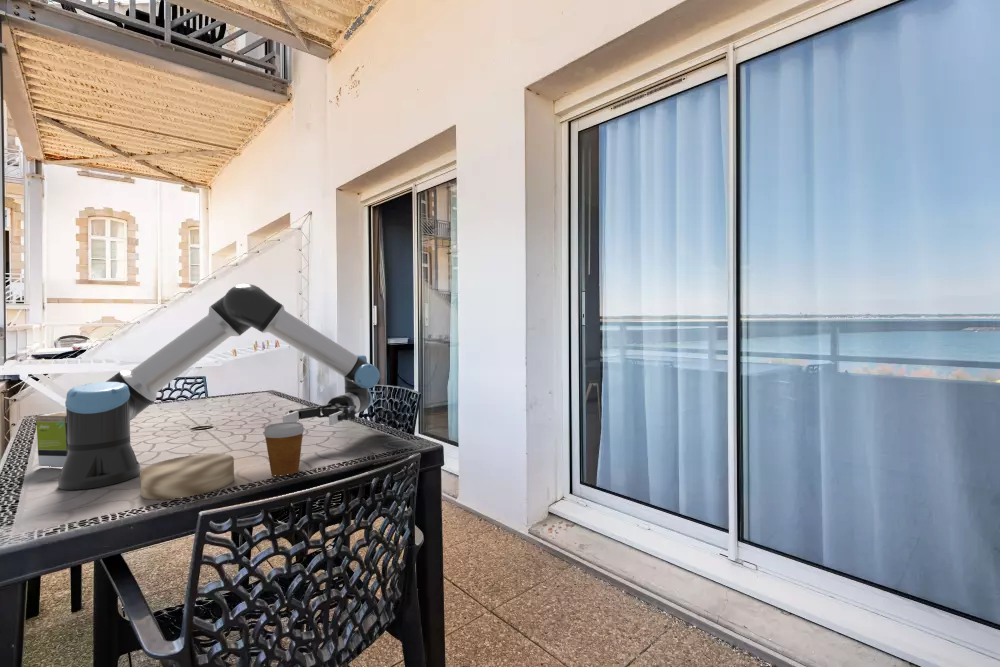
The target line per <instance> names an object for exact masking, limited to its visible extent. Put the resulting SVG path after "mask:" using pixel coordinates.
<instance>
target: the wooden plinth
mask: <svg viewBox="0 0 1000 667" xmlns="http://www.w3.org/2000/svg"><path fill="white" fill-rule="evenodd" d="M234 463H235V458H234V456H233V455H231V454H225V453H204V454H202V453H201V454H193V455H186V456H180V457H175V458H170V459H166V460H162V461H158V462H156V463H153V464H150V465H148V466H145V467H144V468H142V469H140V474H139V475H140V495H141V497H142V498H143V497H144V498H143V499H146V500H150V499H151V500H152V501H158V500H157V499H171V500H176V499H175V498H180V499H182V498H181V497H187V498H191V497H190V496H192V497H195V496H194V495H197V496H200V495H199V494H201V495H204V493H205V494H209V493H212V492H215V491H218V490H220V488H221V489H223V488H225V487H227V486H229V485H230V484H232V483H233V482H234V481H235V464H234ZM222 487H223V488H222ZM217 489H218V490H217ZM214 490H215V491H214ZM211 491H212V492H211ZM208 492H209V493H208Z"/></svg>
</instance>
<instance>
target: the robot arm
mask: <svg viewBox="0 0 1000 667" xmlns="http://www.w3.org/2000/svg"><path fill="white" fill-rule="evenodd" d="M251 328H253V329H255V330H257V331H259V332H261V333H262V334H265V333H270V334H271V335H273V336H274V337H276V338H278V339H280V341H283V342H285V343H286V344H288V345H290V346H291V347H293V348H295V349H296V350H298V351H300V352H301V353H303V354H305V355H307V356H308V357H309V358H311V359H312V360H315V361H316V362H318V363H319V364H322V365H323V366H325V367H327V368H329V370H331V371H333V372H335V373H337V374H338V375H340V376H342V377H343V379H344V393H343V394H339V395H337V396H334V397H332V398H331V399H330V400H329V401H328V403H326V404H324V405H323V404H322V405H319V404H315V405H312V406H308V407H302V408H298V409H292V410H291V409H290V410H288V413H287V414H284V415H282V423H284V422H299V420H304V419H309V418H311V419H312V418H320V419H321V418H328V425H329V426H335V425H337V424H338V423H340V422H343V421H348V420H349V419H350V420H352V421H353V420H356V414H358V413H362V412H364V411H366V410H367V409H368V408H370V407H371V405H372V404H373V394H372V393H371V391H370V390H369V389H371V388H373V387H375V386H376V385H377V384H378V382H379V381H380V377H381V373H380V370H379V369H378V367H376V366H375V365H374V364H371V363H369V362H368V359H367V356H366V355H364V354H363V355H362V354H358V355H357V354H355V353H353V352H351V351H350V350H349V349H347V348H345V347H343V346H342V345H340V344H339V343H337V342H336V341H334V340H332V339H331V338H329V337H328V336H326V335H324V334H322V333H321V332H319V331H318V330H317V329H315V328H313V327H312V326H310V325H308V324H306V323H305V322H304V321H302V320H301V319H299V318H297V317H296V316H294V315H292V314H291V313H290V312H288V311H286V309H285V306H284V304H282V303H280V302H278V301H277V300H276V299H275V298H273V297H272V296H270V295H269V294H268V293H267V292H266V291H264V290H263V289H262V288H260V287H259V286H257V285H255V284H252V283H251V284H250V283H240V284H236V285H235V286H233V287H231V288H230V289H229V290H228V291H227V292H226V293H225V295H224V296H222V297H221V298H220V299H218V300H217V301H215V302H214V303H213V304H211V305H210V306H209V307H208V313H207V315H206V316H204V317H203V318H201V319H200V320H199V321H197V322H196V323H194V324H193V325H192V326H191V327H189V328H188V329H186V330H185V331H184V332H182V333H181V334H180V335H178V336H177V337H175V338H174V339H173V340H171V341H170V342H169V343H167V344H165V346H162V348H160V349H159V350H158V351H156V352H154V354H152V355H151V356H149V357H148V358H147V359H145V360H144V361H142V362H141V363H139V364H138V365H137V366H136V367H134V368H133V369H130V370H120V371H119V372H117V373H116V374H114V375H113V376H112V377H110V378H109V379H107V380H106V381H101V382H92V383H91V382H90V383H85V384H80V385H76V386H74V387H72V388H70V389H69V390H68V391H67V393H66V396H65V397H66V400H65V401H64V402H65V408H66V413H67V443H68V454H67V457H66V459H65V462H64V465H63V468H62V469H61V472H60V474H59V476H58V481H57V482H58V485H57V486H58V488H59V489H60V490H65V491H66V490H69V491H76V490H77V491H78V490H87V489H94V488H100V487H101V488H102V487H106V486H111V485H115V484H119V483H122V482H123V483H124V482H125V481H130V480H131V479H134V478H136V477H137V476H139V475H141V474H140V472H141V466H140V462H139V461H138V460H137V456H136V454H135V450H134V449H133V447H132V443H131V421H132V420H134V419H135V418H136V417H137V416H138V415H139V414H140V413H141V412H142V411H144V410H145V409H146V408H148V407H149V406H151V404H153V403H155V401H157V394H158V392H160V391H161V390H162V389H163V388H165V387H166V386H167V385H169V384H170V383H172V382H173V380H175V379H176V378H178V377H179V376H180V375H182V374H183V373H184V372H185V371H187V370H188V369H190V368H191V367H192V366H193V365H195V364H196V363H197V362H199V361H200V360H201V359H203V358H204V357H205V356H207V355H208V354H210V352H211V351H213V350H214V349H216V348H217V347H218V346H220V345H221V344H223V342H225V341H227V339H229V338H230V337H240V336H242V335H243V334H244V333H246V332H247V331H248V330H249V329H251Z"/></svg>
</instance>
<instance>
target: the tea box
mask: <svg viewBox="0 0 1000 667" xmlns="http://www.w3.org/2000/svg"><path fill="white" fill-rule="evenodd" d="M35 421H36V424H35V425H36V436H37V437H36V438H37V439H36V440H37V442H36V443H37V456H38V457H37V458H38V459H37V460H38V467H39V466H49V467H50V466H51V467H63V465H64V462H65V459H66V457H67V454H68V443H67V413H66V410H62V411H57V412H56V411H53V412H50V413H45V414H38V415H36V416H35Z"/></svg>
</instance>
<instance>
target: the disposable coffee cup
mask: <svg viewBox="0 0 1000 667" xmlns="http://www.w3.org/2000/svg"><path fill="white" fill-rule="evenodd" d="M304 432H305V428H304V424H303V423H302V422H299V421H297V422H284V423H283V422H277V423H272V424H269V425H266V426H264V431H263V432H262V433H263V435H264V437H265V443H266V448H267V455H268V461H269V462H268V463H269V468H270V474H272V475H276V476H275V477H279V476H280V475H287V474H292V475H295V474H297V473H298V472H300V471H299V470H300V461H301V454H302V453H301V452H302V444H303V434H304ZM296 472H297V473H296ZM294 473H295V474H294ZM272 475H271V476H272ZM280 477H281V476H280Z"/></svg>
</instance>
